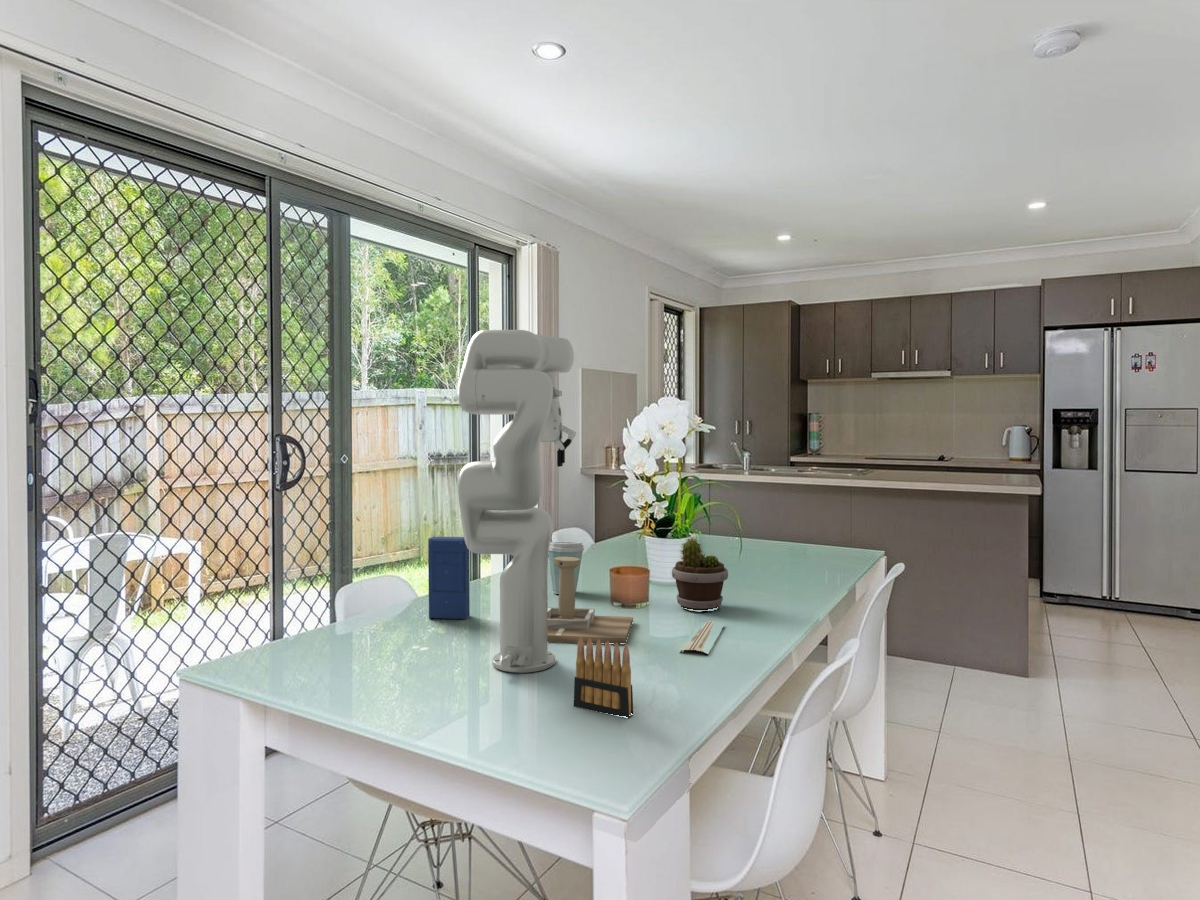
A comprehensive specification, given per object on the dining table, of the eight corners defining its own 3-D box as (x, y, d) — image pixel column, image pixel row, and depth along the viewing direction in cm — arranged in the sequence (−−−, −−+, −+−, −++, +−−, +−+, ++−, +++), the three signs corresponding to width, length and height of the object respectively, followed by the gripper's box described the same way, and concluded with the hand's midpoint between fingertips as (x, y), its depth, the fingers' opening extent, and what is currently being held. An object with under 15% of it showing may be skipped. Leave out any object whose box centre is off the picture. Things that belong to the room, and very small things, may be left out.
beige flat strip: (707, 659, 151) (707, 651, 151) (674, 656, 153) (674, 647, 153) (724, 629, 174) (724, 622, 174) (695, 627, 176) (695, 619, 176)
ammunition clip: (633, 715, 120) (633, 643, 120) (628, 719, 119) (628, 646, 118) (579, 702, 126) (578, 634, 125) (573, 706, 124) (573, 636, 124)
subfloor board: (625, 645, 159) (625, 629, 159) (527, 640, 162) (527, 625, 162) (632, 623, 177) (632, 608, 177) (544, 619, 180) (544, 605, 180)
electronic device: (470, 615, 184) (470, 536, 183) (464, 620, 179) (464, 539, 178) (434, 614, 185) (433, 535, 184) (427, 619, 180) (427, 539, 179)
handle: (561, 617, 175) (561, 555, 175) (583, 621, 172) (583, 558, 172) (549, 622, 171) (549, 559, 171) (572, 626, 168) (572, 561, 167)
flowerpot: (699, 598, 202) (699, 526, 201) (740, 609, 189) (740, 533, 189) (659, 606, 193) (659, 531, 192) (699, 618, 181) (700, 538, 180)
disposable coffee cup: (543, 590, 212) (543, 539, 211) (578, 588, 215) (578, 537, 215) (551, 598, 202) (551, 544, 201) (589, 595, 205) (589, 543, 204)
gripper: (578, 396, 179) (578, 465, 179) (510, 396, 181) (510, 465, 182) (572, 394, 171) (572, 467, 172) (501, 395, 174) (501, 466, 175)
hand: (540, 466), depth 177 cm, fingers open, 9 cm apart
